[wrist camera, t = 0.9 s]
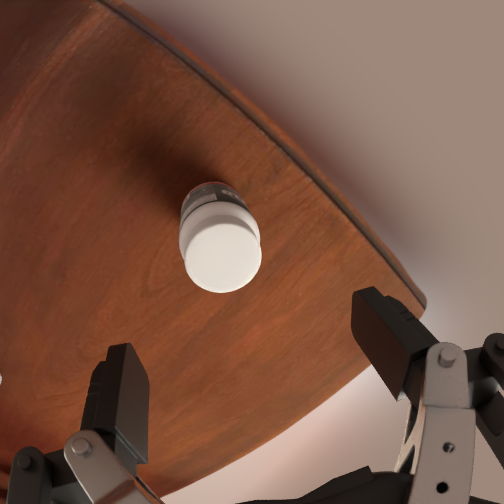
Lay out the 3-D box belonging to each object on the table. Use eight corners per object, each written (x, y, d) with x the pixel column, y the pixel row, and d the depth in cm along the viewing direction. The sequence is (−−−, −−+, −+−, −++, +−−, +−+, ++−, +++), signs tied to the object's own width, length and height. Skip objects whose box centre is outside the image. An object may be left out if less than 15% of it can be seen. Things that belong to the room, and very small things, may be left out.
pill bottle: (254, 218, 24) (285, 268, 17) (204, 251, 25) (213, 313, 17) (221, 167, 22) (239, 197, 15) (168, 203, 23) (159, 250, 15)
